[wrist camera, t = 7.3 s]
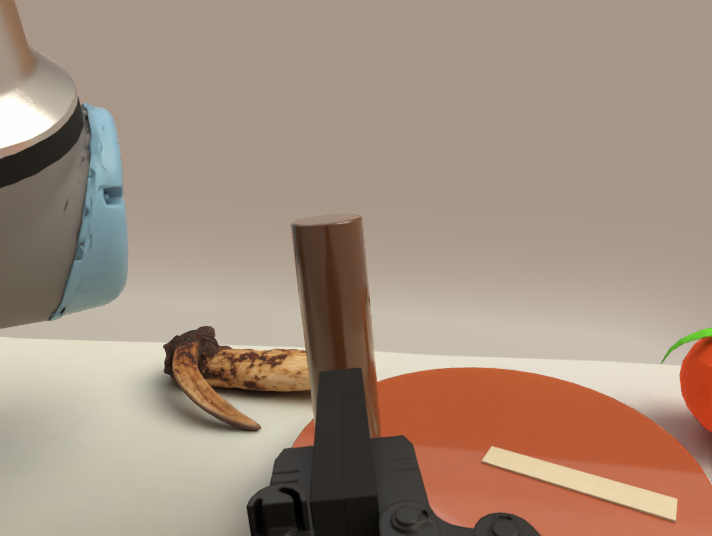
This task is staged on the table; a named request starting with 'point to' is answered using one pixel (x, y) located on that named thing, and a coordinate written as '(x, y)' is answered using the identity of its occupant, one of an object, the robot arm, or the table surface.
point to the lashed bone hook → (230, 372)
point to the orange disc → (496, 421)
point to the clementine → (697, 376)
